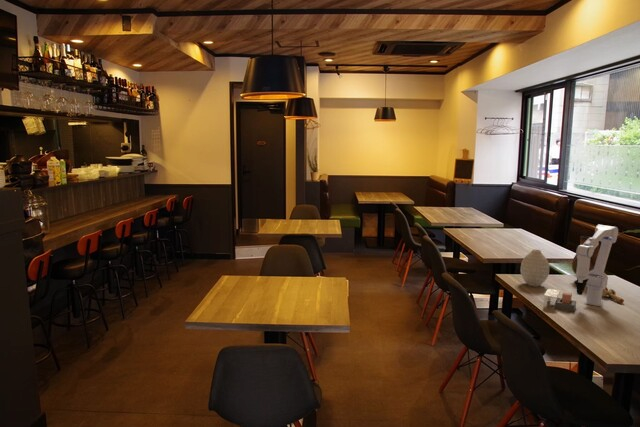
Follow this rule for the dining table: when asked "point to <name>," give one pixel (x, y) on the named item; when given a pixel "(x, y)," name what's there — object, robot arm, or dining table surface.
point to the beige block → (550, 296)
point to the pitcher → (592, 258)
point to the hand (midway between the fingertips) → (580, 292)
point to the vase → (535, 268)
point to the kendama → (612, 295)
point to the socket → (565, 305)
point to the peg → (566, 297)
